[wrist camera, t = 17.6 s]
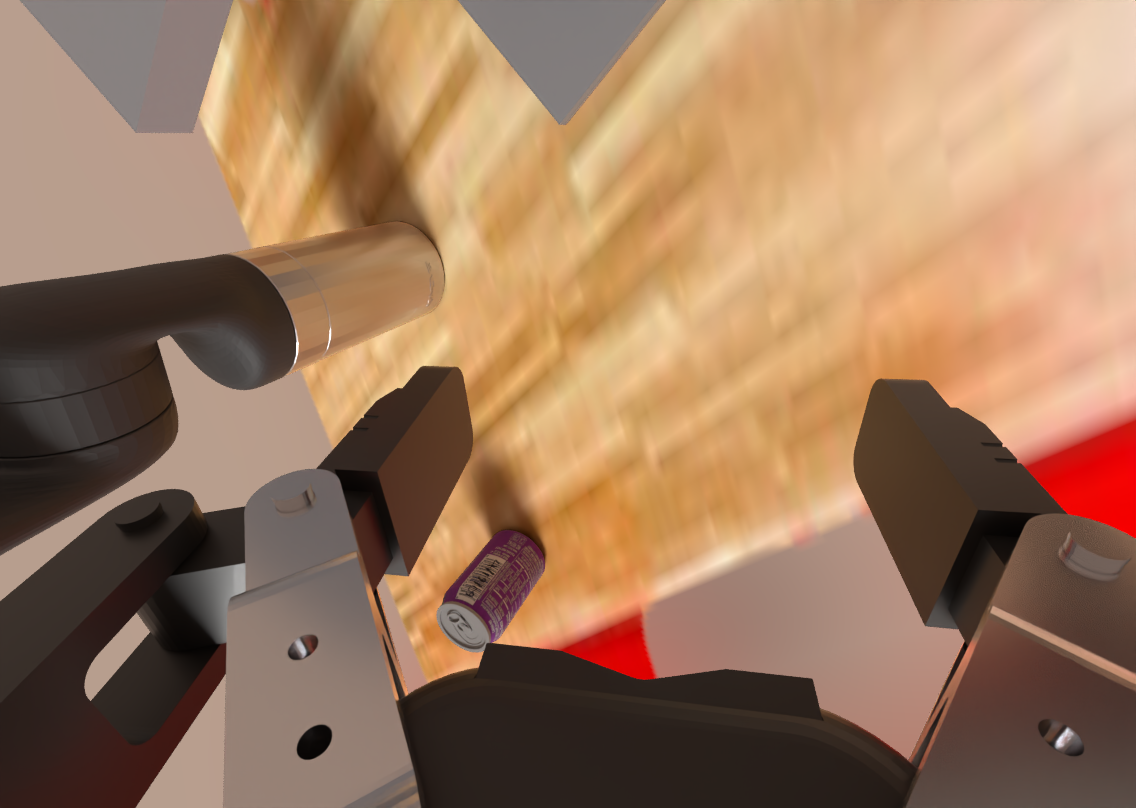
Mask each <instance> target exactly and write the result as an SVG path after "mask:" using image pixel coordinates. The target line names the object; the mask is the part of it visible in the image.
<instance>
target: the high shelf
mask: <svg viewBox="0 0 1136 808" xmlns="http://www.w3.org/2000/svg"><path fill="white" fill-rule="evenodd" d="M20 1H21V2H22V3H23V5H24V6H25V7H26V8H27V9H28V10H29V11H30V12H31V14H32V15H33V16H34V17H35V18H36V19H37V20H38V22H40V24H41V25H42V26H43V27H44V28H45V30H46V31H47V32H48V33H49V34H50V35H51V36H52V38H53V39H54V40H55V41H56V42H57V43H58V44H59V46H61V48H62V49H63V50H64V51H65V52H66V53H67V55H68V56H69V57H70V58H71V59H72V60H73V61H74V63H75V64H76V65H77V66H78V67H79V68H80V69H81V71H82V72H83V73H84V74H85V75H86V76H87V77H88V79H89V80H90V81H91V82H92V83H93V84H94V85H95V86H96V88H98V90H99V91H100V92H101V93H102V94H103V95H104V97H105V98H106V99H107V100H108V101H109V102H110V104H111V105H112V106H113V107H114V108H115V109H116V110H117V112H118V113H119V114H120V115H121V116H122V117H123V118H124V119H125V120H126V122H127V123H128V124H129V125H130V126H131V127H132V129H133V130H134V131H135V132H136V133H192V132H193V130H194V127H195V123H196V120H197V117H198V113H199V110H200V107H201V104H202V100H203V97H204V94H205V90H206V87H207V84H208V81H209V77H210V74H211V71H212V67H213V64H214V61H215V58H216V54H217V51H218V48H219V44H220V41H221V38H222V35H223V31H224V28H225V25H226V21H227V18H228V15H229V12H230V8H231V5H232V2H233V0H20ZM458 1H459V2H460V4H461V5H462V6H463V7H464V9H465V10H466V11H467V12H468V13H469V15H470V16H471V17H472V18H473V20H474V21H475V22H476V23H477V24H478V26H479V27H480V28H481V29H482V31H483V32H484V33H485V34H486V35H487V37H488V38H489V39H490V40H491V42H492V43H493V44H494V45H495V46H496V48H497V49H498V50H499V51H500V53H501V54H502V55H503V56H504V57H505V59H506V60H507V61H508V62H509V64H510V65H511V66H512V67H513V68H514V70H515V71H516V72H517V73H518V75H519V76H520V77H521V78H522V79H523V81H524V82H525V83H526V84H527V86H528V87H529V88H530V89H531V90H532V92H533V93H534V94H535V95H536V97H537V98H538V99H539V100H540V101H541V103H542V104H543V105H544V106H545V108H546V109H547V110H548V111H549V112H550V114H551V115H552V116H553V117H554V119H555V120H556V121H557V122H558V123H559V125H566V124H567V123H568V122H569V121H570V119H571V118H572V117H573V116H574V114H575V113H576V112H577V111H578V109H579V108H580V107H581V106H582V104H583V103H584V102H585V101H586V99H587V98H588V97H589V96H590V94H591V93H592V92H593V91H594V89H595V88H596V87H597V86H598V84H599V83H600V82H601V81H602V79H603V78H604V77H605V76H606V74H607V73H608V72H609V71H610V69H611V68H612V67H613V66H614V64H615V63H616V62H617V61H618V59H619V58H620V57H621V56H622V54H623V53H624V52H625V51H626V49H627V48H628V47H629V46H630V44H631V43H632V42H633V41H634V39H635V38H636V37H637V36H638V34H639V33H640V32H641V31H642V29H643V28H644V27H645V26H646V24H647V23H648V22H649V21H650V19H651V18H652V17H653V16H654V14H655V13H656V12H657V11H658V9H659V8H660V7H661V6H662V4H663V3H664V2H665V1H666V0H458Z"/></svg>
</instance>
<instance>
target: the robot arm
mask: <svg viewBox="0 0 1136 808" xmlns="http://www.w3.org/2000/svg"><path fill="white" fill-rule="evenodd" d="M443 291H444V270H443V267H442V263H441V260H440V257H439V255H438V253H437V250H436V249H435V247H434V246H433V244H432V243H431V241H430V240H429V239H428V238H427V237H426V236H425V235H424V233H422V232H421V231H420V230H418V229H417V228H416V227H414V226H412V225H410V224H408V223H404V222H399V221H397V222H387V223H382V224H377V225H372V226H367V227H361V228H356V229H350V230H345V231H340V232H335V233H330V234H325V235H320V236H315V237H309V238H304V239H299V240H294V241H289V242H284V243H279V244H274V245H269V246H263V247H258V248H254V249H249V250H244V251H239V252H234V253H229V254H223V255H217V256H212V257H206V258H200V259H192V260H184V261H175V262H167V263H160V264H153V265H147V266H141V267H136V268H130V269H124V270H118V271H111V272H104V273H97V274H91V275H84V276H75V277H67V278H60V279H52V280H44V281H37V282H29V283H21V284H14V285H8V286H2V287H0V555H2V554H4V553H5V552H7V551H9V550H11V549H12V548H14V547H16V546H18V545H19V544H21V543H23V542H25V541H26V540H28V539H30V538H32V537H34V536H35V535H37V534H39V533H41V532H42V531H44V530H46V529H48V528H50V527H51V526H53V525H54V524H57V523H58V522H60V521H62V520H64V519H65V518H67V517H69V516H71V515H72V514H74V513H76V512H78V511H79V510H81V509H83V508H85V507H86V506H88V505H90V504H92V503H93V502H95V501H97V500H98V499H100V498H102V497H104V496H105V495H107V494H109V493H110V492H112V491H114V490H115V489H117V488H119V487H120V486H122V485H124V484H125V483H127V482H128V481H130V480H131V479H133V478H135V477H136V476H137V475H139V474H140V473H142V472H143V471H145V470H146V469H147V468H149V467H150V466H151V465H152V464H153V463H155V462H156V461H157V460H158V459H159V458H160V457H161V456H162V455H163V454H164V453H165V452H166V451H167V450H168V449H169V448H170V447H171V446H172V444H173V443H174V441H175V438H176V435H177V432H178V413H177V407H176V404H175V400H174V397H173V394H172V390H171V387H170V383H169V380H168V376H167V373H166V370H165V366H164V363H163V360H162V356H161V353H160V349H159V346H158V343H157V340H159V339H160V338H162V337H165V336H168V335H170V336H171V337H172V338H173V339H174V341H175V342H176V343H177V344H178V346H179V347H180V348H181V349H182V350H183V351H184V353H185V354H186V355H187V356H188V357H189V359H190V360H191V361H192V362H193V363H194V364H195V365H196V366H197V367H198V368H199V369H200V370H201V371H202V372H204V373H205V374H206V375H207V376H209V377H210V378H212V379H213V380H215V381H216V382H218V383H220V384H222V385H224V386H226V387H229V388H232V389H237V390H250V389H254V388H258V387H261V386H264V385H266V384H268V383H271V382H273V381H275V380H277V379H280V378H282V377H284V376H286V375H289V374H291V373H293V372H296V371H298V370H300V369H303V368H305V367H307V366H309V365H312V364H314V363H316V362H318V361H320V360H323V359H325V358H327V357H330V356H332V355H334V354H337V353H339V352H341V351H343V350H346V349H348V348H350V347H353V346H355V345H357V344H360V343H362V342H364V341H366V340H369V339H371V338H373V337H376V336H378V335H380V334H383V333H385V332H387V331H389V330H392V329H394V328H396V327H399V326H401V325H404V324H406V323H408V322H410V321H413V320H415V319H417V318H420V317H422V316H424V315H426V314H428V313H430V312H432V311H433V310H434V309H435V308H436V307H437V305H438V304H439V302H440V300H441V298H442V294H443ZM472 444H473V431H472V424H471V418H470V413H469V407H468V401H467V395H466V390H465V384H464V379H463V375H462V372H461V370H460V369H459V368H458V367H439V366H422V367H420V368H419V369H418V371H417V372H416V373H415V374H414V375H413V377H412V378H411V379H410V380H409V381H408V383H407V384H406V385H405V386H404V387H403V388H397V389H395V390H394V391H392V392H390V393H389V394H387V395H385V396H384V397H382V398H380V399H379V400H377V401H376V402H375V403H374V405H373V406H372V407H371V408H370V409H369V410H368V411H367V412H366V413H365V415H364V418H361V419H360V420H359V421H358V422H357V424H356V425H355V426H354V427H353V431H352V430H350V431H349V433H348V434H347V435H346V436H345V437H344V438H343V439H342V440H341V442H340V443H339V444H338V445H337V446H336V447H335V448H334V449H333V450H332V452H331V453H330V454H329V455H328V456H327V457H326V458H325V459H324V461H323V462H322V463H321V464H320V465H319V466H318V467H317V469H305V470H300V471H295V472H292V473H289V474H286V475H283V476H280V477H278V478H276V479H274V480H272V481H270V482H269V483H267V484H265V485H264V486H263V487H261V488H260V489H259V490H258V491H256V492H255V493H254V494H253V496H252V497H251V498H250V499H249V501H248V502H247V504H246V506H245V507H239V508H233V509H226V510H220V511H214V512H208V513H202V512H201V510H200V508H199V506H198V504H197V502H196V501H195V499H194V497H193V496H192V494H190V493H189V492H187V491H184V490H179V489H167V490H159V491H155V492H151V493H148V494H144V495H141V496H139V497H136V498H133V499H131V500H129V501H127V502H124V503H123V504H121V505H119V506H117V507H115V508H114V509H112V510H111V511H109V512H107V513H106V514H105V515H104V516H102V517H101V518H100V519H98V520H97V521H96V522H95V523H94V524H92V525H91V526H90V527H89V528H88V529H87V530H85V531H84V532H83V533H82V534H80V535H79V536H78V537H77V538H76V539H74V540H73V541H72V542H71V543H70V544H68V545H67V546H66V547H65V548H64V549H62V550H61V551H60V552H59V553H58V554H56V556H54V557H53V558H52V559H50V560H49V561H48V562H47V563H46V564H44V565H43V566H42V567H41V568H40V569H39V570H37V571H36V572H35V573H34V574H32V575H31V576H30V577H29V578H28V579H26V580H25V581H24V582H23V583H22V584H20V585H19V586H18V587H17V588H16V589H14V590H13V591H12V592H11V593H10V594H8V595H7V596H6V597H5V598H4V599H2V600H1V601H0V808H136V806H137V804H138V803H139V802H140V800H141V799H142V797H143V796H144V794H145V793H146V791H147V790H148V788H149V787H150V785H151V784H152V782H153V781H154V779H155V778H156V776H157V775H158V773H159V772H160V770H161V769H162V768H163V766H164V765H165V763H166V762H167V760H168V759H169V757H170V756H171V754H172V753H173V751H174V750H175V748H176V747H177V745H178V744H179V742H180V741H181V739H182V738H183V736H184V735H185V733H186V732H187V730H188V729H189V727H190V726H191V724H192V723H193V722H194V720H195V719H196V717H197V716H198V714H199V713H200V711H201V710H202V708H203V707H204V705H205V704H206V702H207V701H208V699H209V698H210V696H211V695H212V693H213V692H214V690H215V689H216V687H217V686H218V685H219V683H220V682H221V680H222V679H223V677H224V675H225V674H226V696H225V697H226V698H225V743H224V745H225V747H224V791H223V808H1136V539H1135V538H1133V537H1131V536H1130V535H1128V534H1126V533H1124V532H1122V531H1120V530H1118V529H1116V528H1113V527H1111V526H1108V525H1106V524H1103V523H1100V522H1097V521H1094V520H1091V519H1087V518H1083V517H1079V516H1074V515H1068V514H1067V513H1066V512H1065V511H1064V510H1063V509H1062V508H1061V507H1060V505H1059V504H1058V503H1057V502H1056V501H1055V500H1054V499H1053V498H1052V497H1051V496H1050V495H1049V493H1048V492H1047V491H1046V490H1045V489H1044V488H1043V487H1042V486H1041V485H1040V484H1039V483H1038V481H1037V480H1036V479H1035V478H1034V477H1033V476H1032V475H1031V474H1030V473H1029V472H1028V471H1027V469H1026V468H1025V467H1024V466H1023V465H1022V464H1021V463H1017V459H1016V457H1015V456H1014V455H1013V454H1012V453H1011V452H1010V451H1009V450H1008V449H1007V448H1006V447H1002V444H1003V443H1002V442H1001V441H1000V440H999V439H998V438H997V437H996V436H995V435H994V433H993V432H992V431H991V430H990V429H989V428H988V427H987V426H986V425H985V424H984V423H982V422H980V421H979V420H977V419H975V418H974V417H972V416H970V415H969V414H967V413H965V412H964V411H962V410H960V409H959V408H950V407H949V405H948V404H947V403H946V402H945V401H944V400H943V398H942V397H941V396H940V395H939V394H938V393H937V391H936V390H935V389H934V388H933V387H932V386H931V384H930V383H929V382H928V381H926V380H905V379H878V380H877V381H876V382H875V383H874V385H873V387H872V389H871V392H870V395H869V399H868V402H867V406H866V410H865V413H864V417H863V421H862V424H861V428H860V431H859V435H858V439H857V442H856V446H855V450H854V473H855V477H856V480H857V483H858V485H859V487H860V489H861V491H862V493H863V495H864V498H865V500H866V502H867V504H868V506H869V508H870V510H871V512H872V514H873V517H874V519H875V521H876V523H877V525H878V527H879V529H880V531H881V534H882V536H883V538H884V540H885V542H886V544H887V546H888V548H889V551H890V553H891V555H892V557H893V559H894V561H895V563H896V565H897V568H898V570H899V572H900V574H901V576H902V578H903V580H904V582H905V584H906V586H907V589H908V591H909V593H910V595H911V597H912V599H913V601H914V604H915V606H916V608H917V610H918V612H919V614H920V616H921V618H922V621H923V623H924V624H925V626H928V627H939V628H951V629H959V631H960V633H961V634H962V637H963V638H964V642H963V644H962V646H961V648H960V650H959V652H958V654H957V656H956V658H955V660H954V662H953V665H952V667H951V669H950V671H949V674H948V676H947V678H946V680H945V682H944V684H943V686H942V689H941V691H940V693H939V695H938V697H937V700H936V702H935V704H934V706H933V708H932V710H931V713H930V715H929V717H928V719H927V721H926V723H925V726H924V728H923V730H922V732H921V734H920V737H919V739H918V741H917V743H916V745H915V747H914V749H913V751H912V753H911V756H910V757H909V759H908V760H907V759H906V758H905V757H903V756H902V755H901V754H900V753H899V752H897V751H896V750H894V749H893V748H892V747H890V746H889V745H888V744H886V743H885V742H883V741H882V740H880V739H879V738H878V737H876V736H875V735H873V734H871V733H870V732H868V731H866V730H864V729H863V728H861V727H859V726H858V725H856V724H854V723H852V722H850V721H848V720H846V719H844V718H842V717H840V716H838V715H836V714H833V713H831V712H829V711H826V710H823V709H821V708H820V707H819V703H818V699H817V695H816V691H815V687H814V683H813V680H812V679H810V678H801V677H792V676H783V675H774V674H765V673H755V672H747V671H737V670H729V669H724V670H717V671H710V672H702V673H695V674H687V675H680V676H672V677H665V678H658V679H650V680H641V679H636V678H632V677H630V676H627V675H624V674H622V673H619V672H616V671H614V670H611V669H608V668H606V667H603V666H600V665H598V664H595V663H592V662H590V661H587V660H584V659H582V658H579V657H576V656H574V655H571V654H568V653H566V652H563V651H558V650H549V649H540V648H531V647H522V646H513V645H504V644H495V643H486V647H485V650H484V653H483V656H482V659H481V662H480V666H479V668H474V669H468V670H464V671H460V672H456V673H453V674H450V675H447V676H444V677H442V678H439V679H437V680H434V681H432V682H430V683H428V684H426V685H424V686H422V687H420V688H418V689H416V690H414V691H413V692H411V693H410V694H409V693H408V690H407V687H406V684H405V681H404V677H403V674H402V671H401V667H400V664H399V660H398V657H397V653H396V650H395V646H394V643H393V640H392V636H391V632H390V629H389V626H388V622H387V619H386V615H385V612H384V609H383V605H382V601H381V598H380V595H379V592H378V589H377V586H378V584H379V582H380V581H381V579H382V577H383V575H384V574H390V575H400V576H409V574H410V572H411V570H412V568H413V567H414V565H415V563H416V561H417V559H418V557H419V555H420V553H421V551H422V549H423V547H424V545H425V543H426V541H427V539H428V537H429V535H430V534H431V532H432V530H433V528H434V526H435V524H436V522H437V520H438V518H439V516H440V514H441V512H442V510H443V508H444V506H445V504H446V502H447V501H448V499H449V497H450V495H451V493H452V491H453V489H454V487H455V485H456V483H457V481H458V479H459V477H460V475H461V473H462V471H463V470H464V468H465V466H466V464H467V462H468V460H469V458H470V455H471V451H472ZM136 612H137V614H138V615H139V617H140V618H141V619H142V621H143V622H144V624H145V625H146V626H147V628H148V629H149V631H150V633H149V634H148V635H147V637H146V638H145V639H144V640H143V641H142V643H140V645H139V646H138V647H137V648H136V649H135V650H134V652H133V653H132V654H131V655H130V656H129V657H128V659H127V660H126V661H125V662H124V663H123V664H122V666H121V667H120V668H119V669H118V670H117V671H116V673H115V674H114V675H113V676H112V677H111V678H110V679H109V681H108V682H107V683H106V684H105V685H104V686H103V688H102V689H101V690H100V691H99V692H98V693H97V695H96V696H95V697H94V698H93V699H92V700H91V701H90V700H89V699H88V698H87V696H86V694H85V689H84V683H85V677H86V674H87V671H88V669H89V667H90V665H91V663H92V662H93V660H94V659H95V657H96V656H97V655H98V654H99V652H100V651H101V650H102V649H103V648H104V647H105V646H106V645H107V644H108V643H109V642H110V641H111V640H112V638H113V637H114V636H115V635H116V634H117V633H118V632H119V631H120V630H121V629H122V627H123V626H124V625H125V624H126V623H127V622H128V621H129V620H130V619H131V618H132V617H133V616H134V615H135V613H136Z"/></svg>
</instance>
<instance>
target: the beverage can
mask: <svg viewBox="0 0 1136 808" xmlns="http://www.w3.org/2000/svg"><path fill="white" fill-rule="evenodd" d="M544 569H545V560H544V557H543V554H542V552H541V551H540V549H539V548H538V546H537V545H536V544H535V543H534V542H533V541H532V540H531V539H530V538H528V537H527V536H525V535H523V534H521V533H519V532H516V531H512V530H503V531H500V532H498V533H496V534H495V535H494V536H493V538H492V539H491V540H490V541H489V542H488V543H487V545H486V546H485V547H484V548H483V549H482V551H481V552H480V553H479V554H478V555H477V556H476V558H475V559H474V560H473V561H472V562H471V563H470V565H469V566H468V567H467V568H466V569H465V571H464V572H463V573H462V574H461V575H460V576H459V578H458V579H457V580H456V581H455V582H454V583H453V585H452V586H451V587H450V588H449V589H448V591H447V592H446V593H445V595H444V598H443V603H442V605H441V606H440V607H439V608H438V610H437V621H438V624H439V626H440V628H441V630H442V631H443V633H444V634H445V635H446V636H447V637H448V639H450V640H451V641H452V642H453V643H454V644H456V645H457V646H459V647H460V648H462V649H464V650H467V651H470V652H482V651H484V650H485V647H486V643H492V642H494V641H496V640H497V639H499V638H500V636H501V635H502V634H503V632H504V631H505V629H506V628H507V626H508V625H509V623H510V622H511V620H512V619H513V617H514V616H515V614H516V613H517V611H518V610H519V608H520V607H521V605H522V604H523V602H524V601H525V599H526V598H527V596H528V595H529V593H530V592H531V590H532V589H533V587H534V586H535V584H536V583H537V581H538V580H539V578H540V577H541V575H542V574H543V572H544Z"/></svg>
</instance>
